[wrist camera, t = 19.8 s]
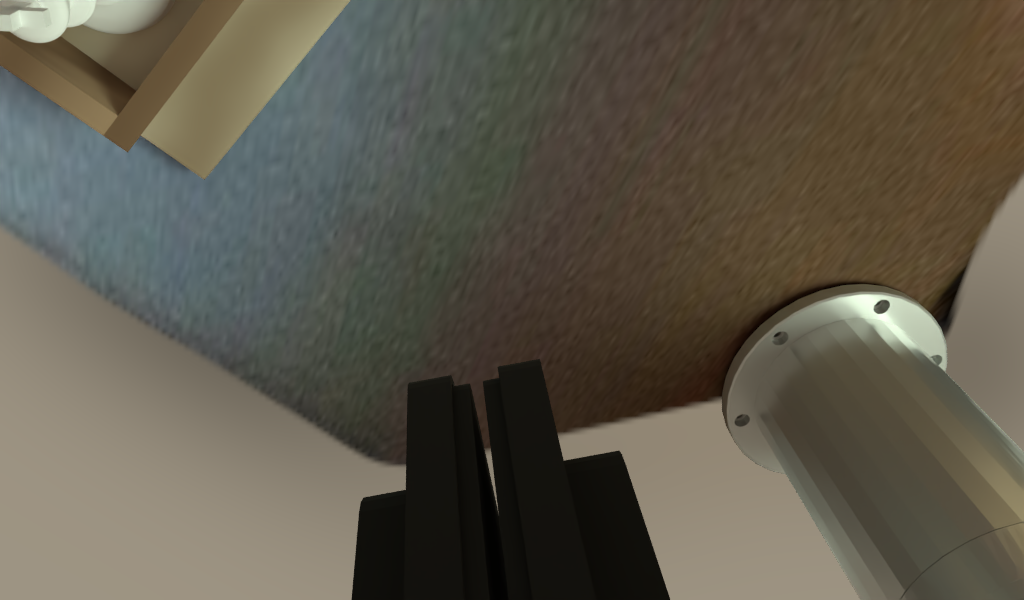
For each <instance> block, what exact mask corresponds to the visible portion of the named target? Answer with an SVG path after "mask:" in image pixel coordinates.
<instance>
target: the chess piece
mask: <svg viewBox="0 0 1024 600" xmlns="http://www.w3.org/2000/svg"><path fill="white" fill-rule="evenodd" d="M174 2H175V0H0V31H10V32H11V33H13V34H14V35H15V36H17V37H19V38H21V39H23V40H26V41H29V42H34V43H46V42H50V41H53V40H55V39H57V38H58V37H60V36H61V35H62V34H63V33H64V31H65V30H66V28H67V27H75V26H79V25H81V24H82V25H84V26H86V27H89V28H91V29H94V30H97V31H100V32H104V33H110V34H128V33H133V32H137V31H141V30H144V29H147V28H149V27H151V26H153V25H155V24H156V23H158V22H159V21H160V20H162V19H163V18H164V17H165V16H166V14H167V13H168V12H169V11H170V9H171V8H172V6H173V4H174Z"/></svg>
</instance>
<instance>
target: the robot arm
mask: <svg viewBox="0 0 1024 600" xmlns="http://www.w3.org/2000/svg"><path fill="white" fill-rule="evenodd" d="M946 366H947V347H946V341H945V339H944V336H943V333H942V330H941V328H940V326H939V325H938V323H937V322H936V321H935V319H934V318H933V316H932V315H931V314H930V313H929V312H928V311H927V310H926V309H925V308H924V307H923V306H922V305H920V304H919V303H918V302H917V301H916V300H914V299H912V298H911V297H909V296H908V295H906V294H904V293H903V292H900V291H897V290H894V289H891V288H888V287H885V286H878V285H870V284H855V285H842V286H838V287H833V288H829V289H825V290H821V291H818V292H815V293H813V294H810V295H808V296H805V297H803V298H800V299H798V300H796V301H795V302H793V303H791V304H790V305H788V306H786V307H784V308H783V309H781V310H779V311H778V312H776V313H775V314H774V315H773V316H771V317H770V318H769V319H768V320H766V321H765V322H764V323H763V324H761V325H760V326H759V327H758V328H757V329H756V330H755V332H754V333H753V334H752V335H751V336H750V337H749V338H748V339H747V340H746V341H745V343H744V344H743V346H742V347H741V348H740V350H739V351H738V353H737V354H736V356H735V357H734V359H733V361H732V364H731V366H730V368H729V370H728V373H727V375H726V378H725V383H724V387H723V392H722V412H723V415H724V419H725V423H726V426H727V428H728V430H729V431H730V433H731V436H732V438H733V440H734V442H735V443H736V444H737V446H738V447H739V448H740V449H741V451H742V452H743V453H744V454H745V455H746V456H747V457H748V458H750V459H751V460H752V461H754V462H755V463H756V464H758V465H760V466H762V467H764V468H767V469H769V470H771V471H774V472H778V473H783V474H786V475H787V477H788V478H789V480H790V482H791V483H792V485H793V487H794V488H795V490H796V492H797V493H798V495H799V497H800V499H801V500H802V502H803V503H804V505H805V507H806V509H807V510H808V512H809V514H810V515H811V517H812V519H813V520H814V522H815V524H816V526H817V527H818V529H819V531H820V532H821V534H822V536H823V537H824V539H825V541H826V542H827V544H828V546H829V547H830V549H831V551H832V553H833V554H834V556H835V558H836V559H837V561H838V563H839V564H840V566H841V568H842V569H843V571H844V573H845V574H846V576H847V578H848V579H849V581H850V583H851V584H852V586H853V588H854V590H855V591H856V593H857V595H858V596H859V598H860V600H1024V452H1023V451H1022V450H1021V449H1020V448H1019V447H1018V446H1017V445H1016V444H1015V443H1014V442H1013V441H1012V440H1011V439H1010V438H1009V437H1008V436H1007V434H1006V433H1005V432H1004V431H1003V430H1002V429H1001V428H1000V427H999V426H998V425H997V424H996V423H994V421H993V420H991V418H990V417H989V416H988V415H987V414H986V413H985V412H984V411H983V410H982V409H981V408H980V407H979V406H978V405H977V404H976V403H975V402H974V401H973V400H972V399H971V398H970V397H969V396H968V395H967V394H966V393H965V392H964V391H963V390H962V389H961V388H960V387H959V386H958V385H957V384H956V383H955V382H954V381H953V380H952V379H951V378H950V377H949V376H948V375H947V374H946ZM498 372H499V378H497V379H492V380H486V381H483V386H484V394H485V403H486V411H487V420H488V428H489V436H490V445H491V453H492V460H493V469H494V478H495V486H496V494H497V503H498V510H497V505H496V500H495V496H494V491H493V486H492V482H491V477H490V473H489V468H488V463H487V459H486V454H485V449H484V445H483V440H482V436H481V431H480V426H479V422H478V417H477V412H476V408H475V403H474V398H473V394H472V390H471V386H470V384H465V385H459V386H454V382H453V379H452V376H451V375H450V376H445V377H439V378H434V379H428V380H423V381H417V382H412V383H409V384H408V402H407V457H406V490H403V491H397V492H392V493H386V494H381V495H376V496H370V497H365V498H363V500H362V501H361V505H360V511H359V521H358V532H357V545H356V556H355V567H354V578H353V590H352V600H670V597H669V595H668V591H667V589H666V585H665V582H664V579H663V576H662V573H661V570H660V567H659V564H658V561H657V558H656V555H655V552H654V549H653V546H652V543H651V540H650V537H649V534H648V531H647V528H646V525H645V522H644V519H643V516H642V513H641V510H640V507H639V504H638V501H637V498H636V495H635V492H634V489H633V486H632V482H631V479H630V477H629V474H628V471H627V467H626V465H625V462H624V459H623V457H622V454H621V452H620V451H615V452H610V453H604V454H598V455H593V456H587V457H582V458H577V459H571V460H566V461H563V457H562V452H561V448H560V444H559V439H558V435H557V431H556V426H555V422H554V418H553V413H552V409H551V405H550V401H549V396H548V392H547V388H546V384H545V379H544V375H543V371H542V366H541V362H540V359H538V360H532V361H527V362H521V363H516V364H510V365H505V366H499V367H498ZM498 511H499V514H498Z"/></svg>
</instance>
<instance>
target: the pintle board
mask: <svg viewBox="0 0 1024 600" xmlns="http://www.w3.org/2000/svg"><path fill="white" fill-rule="evenodd" d="M349 1H350V0H175V2H174V4H173V6H172V8H171V9H170V11H169V12H168V13H167V14H166V16H165V17H164V18H163V19H162V20H160V21H159V22H158V23H156V24H155V25H153V26H151V27H149V28H147V29H144V30H141V31H137V32H133V33H128V34H110V33H104V32H100V31H97V30H94V29H91V28H89V27H86V26H84V25H82V24H81V25H79V26H75V27H67V28H66V30H65V31H64V33H63V34H62V35H61V36H60V37H58V38H57V39H55V40H53V41H50V42H46V43H34V42H29V41H26V40H23V39H21V38H19V37H17V36H15V35H14V34H13V33H11V32H10V31H0V65H1V66H2V67H4V68H5V69H7V70H8V71H9V72H11V73H12V74H14V75H15V76H17V77H18V78H20V79H21V80H23V81H24V82H26V83H27V84H28V85H30V86H31V87H33V88H34V89H36V90H37V91H39V92H40V93H42V94H43V95H45V96H46V97H48V98H49V99H50V100H52V101H53V102H55V103H56V104H58V105H59V106H61V107H62V108H64V109H65V110H67V111H68V112H69V113H71V114H72V115H74V116H75V117H77V118H78V119H80V120H81V121H83V122H84V123H86V124H87V125H89V126H90V127H91V128H93V129H94V130H96V131H97V132H99V133H100V134H102V135H103V136H105V137H106V138H108V139H109V140H110V141H112V142H113V143H115V144H116V145H118V146H119V147H121V148H122V149H124V150H125V151H127V152H128V151H129V150H130V149H131V147H132V146H133V145H134V143H135V142H136V141H137V140H138V138H139V137H140V136H142V137H144V138H145V139H147V140H148V141H150V142H151V143H152V144H154V145H155V146H157V147H158V148H160V149H161V150H163V151H164V152H165V153H167V154H168V155H170V156H171V157H173V158H174V159H175V160H177V161H178V162H180V163H181V164H183V165H184V166H185V167H187V168H188V169H190V170H191V171H193V172H194V173H196V174H197V175H198V176H200V177H201V178H203V179H204V180H205V179H206V177H207V176H208V175H209V174H210V172H211V171H212V170H213V169H214V168H215V166H216V165H217V164H218V163H219V161H220V160H221V159H222V158H223V156H224V155H225V154H226V153H227V152H228V150H229V149H230V148H231V147H232V145H233V144H234V143H235V142H236V140H237V139H238V138H239V137H240V136H241V134H242V133H243V132H244V131H245V129H246V128H247V127H248V126H249V124H250V123H251V122H252V121H253V120H254V118H255V117H256V116H257V115H258V113H259V112H260V111H261V110H262V108H263V107H264V106H265V105H266V104H267V102H268V101H269V100H270V99H271V97H272V96H273V95H274V94H275V92H276V91H277V90H278V89H279V88H280V86H281V85H282V84H283V83H284V81H285V80H286V79H287V78H288V76H289V75H290V74H291V73H292V72H293V70H294V69H295V68H296V67H297V65H298V64H299V63H300V62H301V60H302V59H303V58H304V57H305V55H306V54H307V53H308V52H309V51H310V49H311V48H312V47H313V46H314V44H315V43H316V42H317V41H318V39H319V38H320V37H321V36H322V35H323V33H324V32H325V31H326V30H327V28H328V27H329V26H330V25H331V23H332V22H333V21H334V20H335V19H336V17H337V16H338V15H339V14H340V12H341V11H342V10H343V9H344V7H345V6H346V5H347V4H348V3H349Z"/></svg>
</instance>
